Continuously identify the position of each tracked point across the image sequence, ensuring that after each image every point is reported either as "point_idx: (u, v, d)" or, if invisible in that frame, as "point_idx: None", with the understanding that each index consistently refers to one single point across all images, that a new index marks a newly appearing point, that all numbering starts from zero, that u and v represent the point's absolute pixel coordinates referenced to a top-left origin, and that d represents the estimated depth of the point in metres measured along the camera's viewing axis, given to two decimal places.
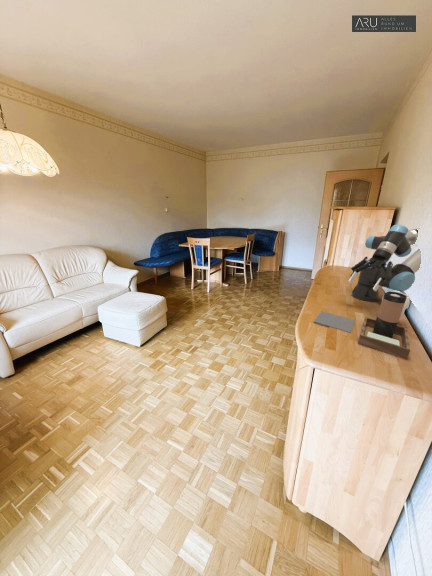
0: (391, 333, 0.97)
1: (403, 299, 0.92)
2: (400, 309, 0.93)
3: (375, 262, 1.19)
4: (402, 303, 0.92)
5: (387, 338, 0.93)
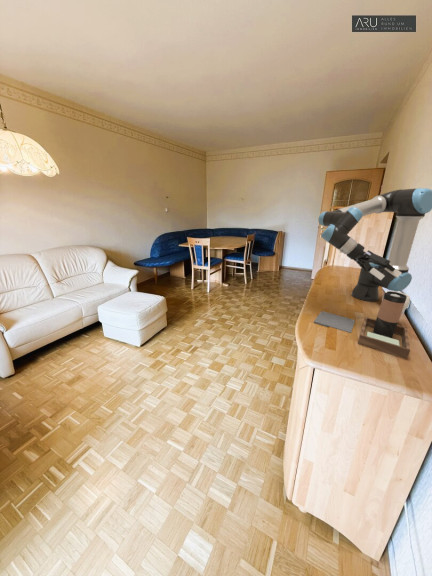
0: (391, 333, 0.97)
1: (403, 299, 0.92)
2: (400, 309, 0.93)
3: None
4: (402, 303, 0.92)
5: (387, 338, 0.94)
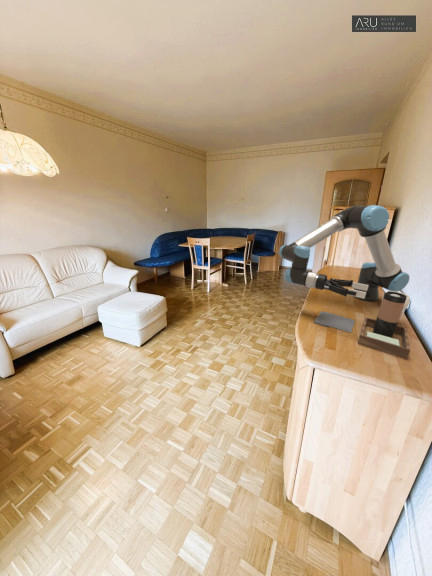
0: (391, 333, 0.97)
1: (403, 299, 0.92)
2: (400, 309, 0.93)
3: None
4: (402, 303, 0.92)
5: (387, 337, 0.93)
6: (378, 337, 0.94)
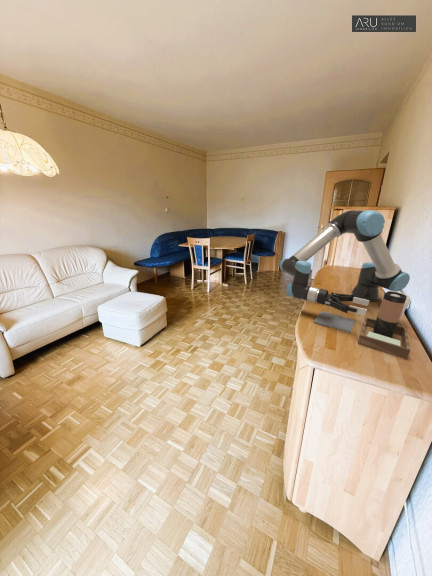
0: (391, 333, 0.97)
1: (403, 299, 0.92)
2: (400, 309, 0.93)
3: None
4: (402, 303, 0.92)
5: (388, 338, 0.93)
6: (379, 337, 0.94)
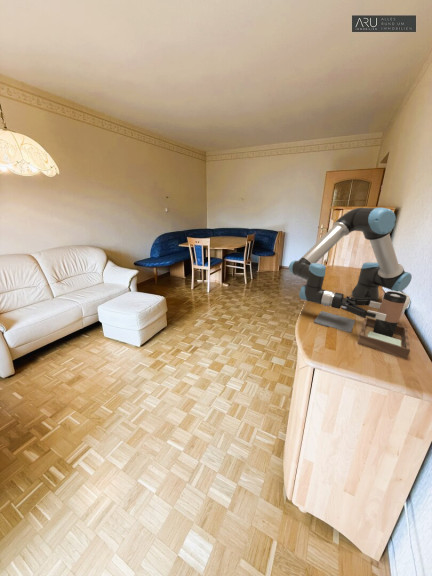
0: (391, 333, 0.97)
1: (403, 299, 0.92)
2: (400, 309, 0.93)
3: None
4: (402, 303, 0.92)
5: (388, 337, 0.93)
6: (379, 337, 0.94)
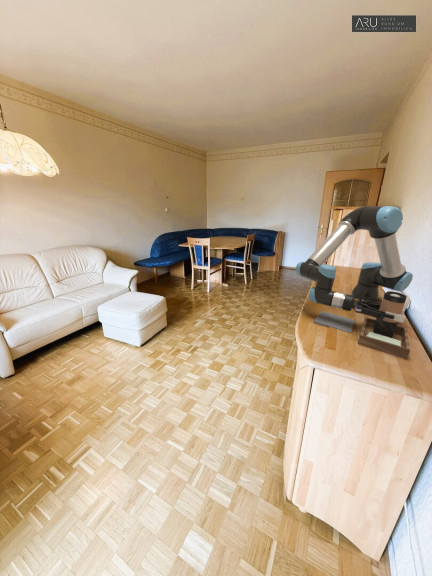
0: (391, 333, 0.97)
1: (403, 299, 0.92)
2: (400, 309, 0.93)
3: None
4: (402, 303, 0.92)
5: (388, 338, 0.93)
6: (379, 337, 0.93)
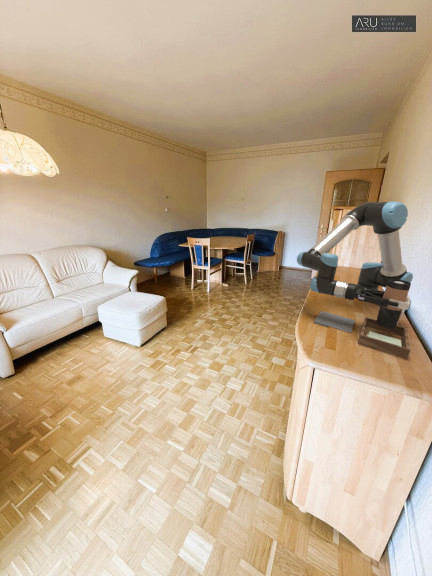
0: (395, 321, 0.95)
1: (407, 286, 0.90)
2: (404, 296, 0.91)
3: None
4: (406, 290, 0.90)
5: (388, 338, 0.93)
6: (380, 337, 0.93)
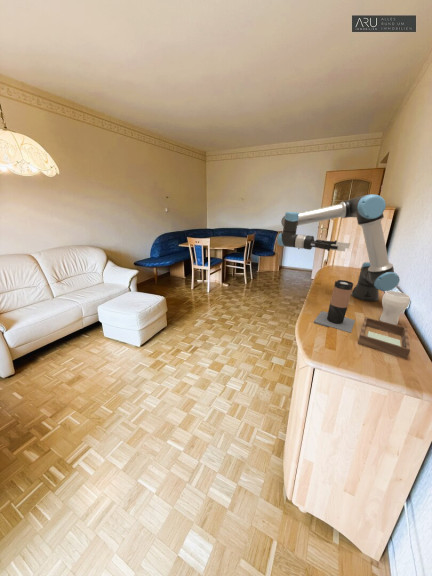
0: (341, 317, 1.07)
1: (349, 286, 1.02)
2: (347, 295, 1.04)
3: None
4: (349, 290, 1.03)
5: (388, 338, 0.93)
6: (379, 337, 0.94)
